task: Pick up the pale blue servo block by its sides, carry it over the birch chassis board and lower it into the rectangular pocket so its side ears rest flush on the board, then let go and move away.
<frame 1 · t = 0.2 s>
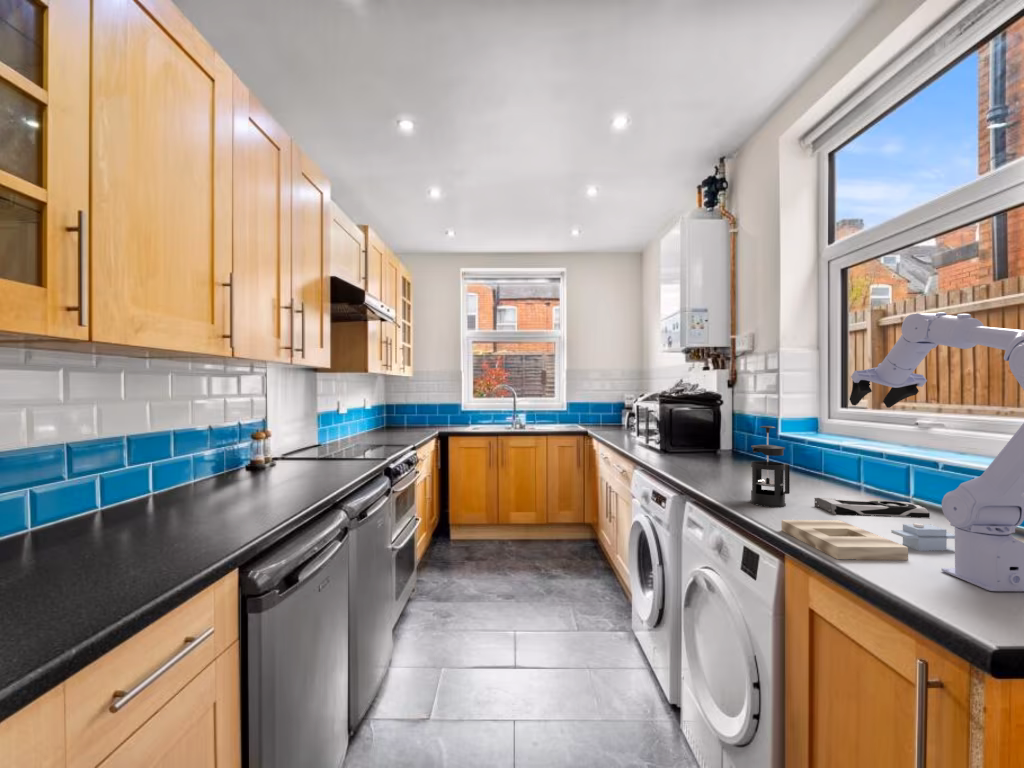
hand: (869, 403, 114), 31 cm above the counter, tool tilted 45°, fingers open, 7 cm apart
servo block: (924, 547, 104), on the counter
french press: (769, 504, 144), on the counter
chassis board: (838, 543, 106), on the counter
graphics card: (871, 515, 135), on the counter
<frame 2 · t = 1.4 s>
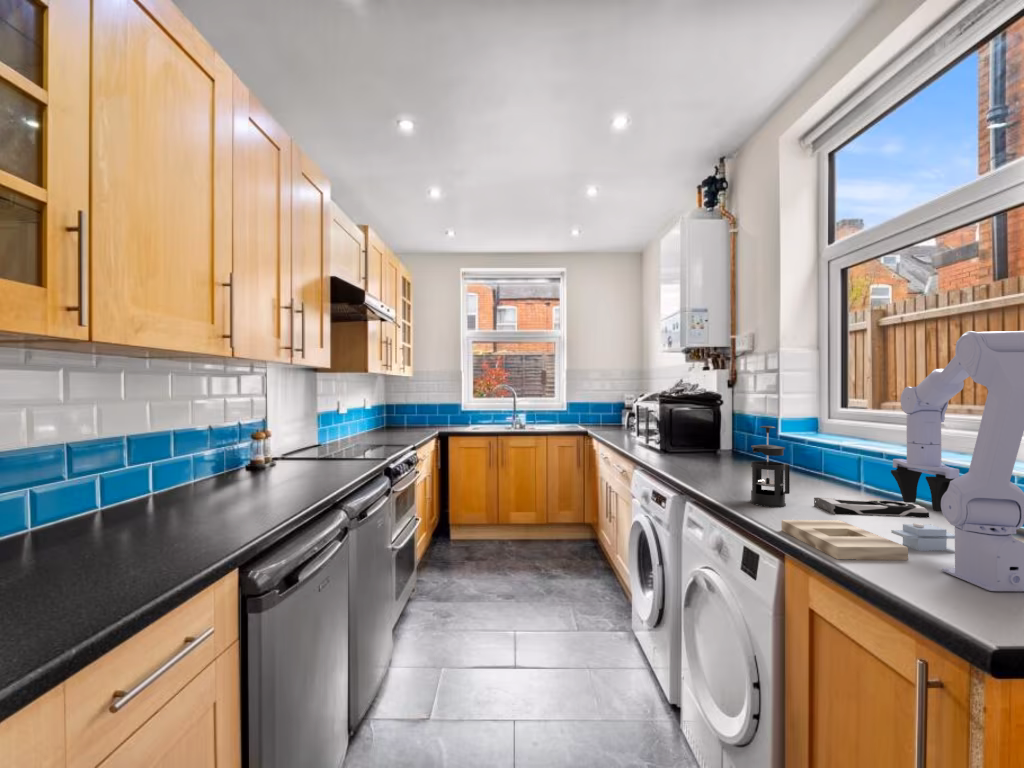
hand: (923, 506, 104), 9 cm above the counter, tool pointing down, fingers open, 7 cm apart
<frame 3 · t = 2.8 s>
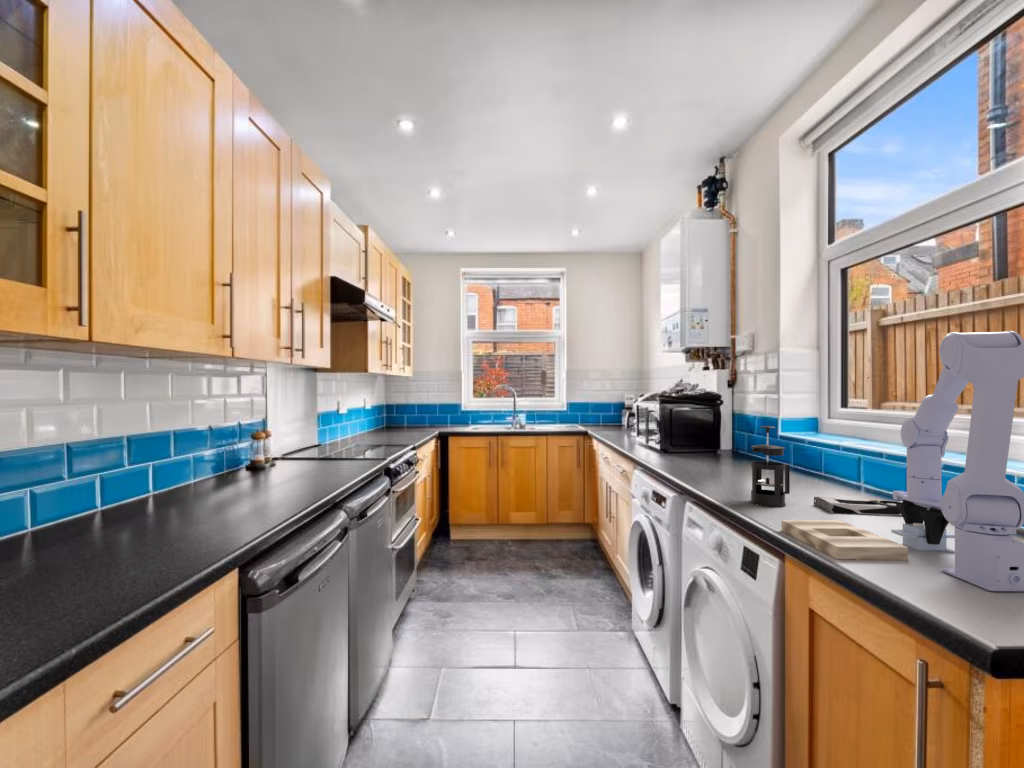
hand: (924, 540, 104), 1 cm above the counter, tool pointing down, fingers closed on servo block, 4 cm apart
servo block: (924, 547, 104), on the counter, touching gripper
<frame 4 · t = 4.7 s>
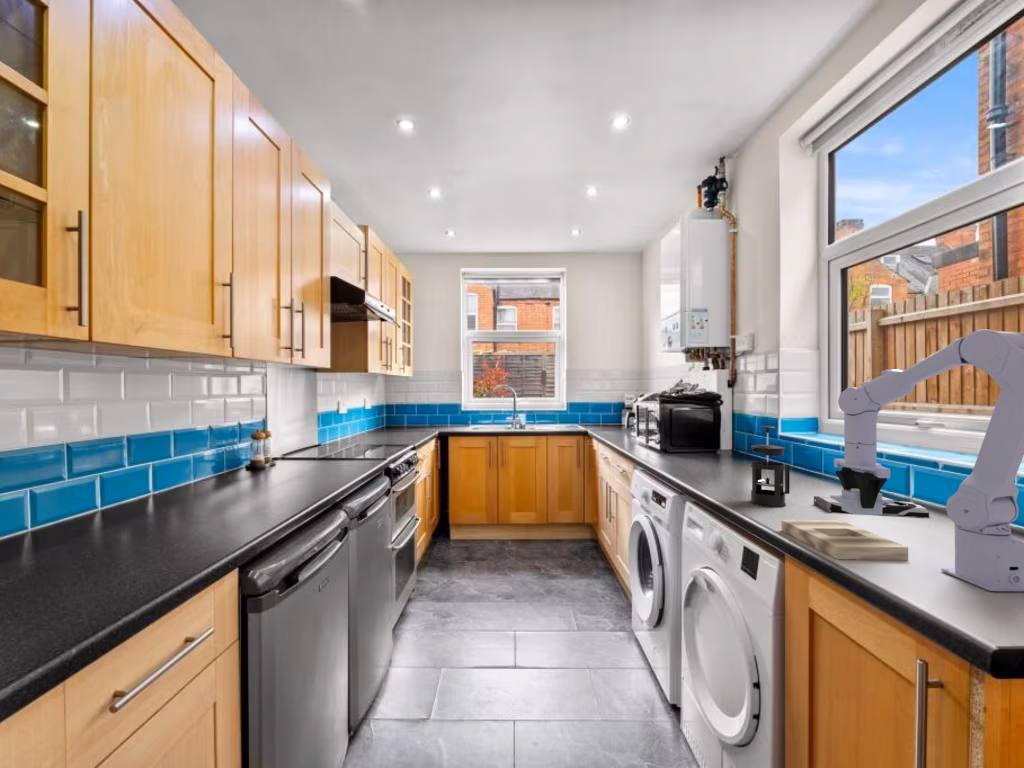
hand: (860, 505, 106), 8 cm above the counter, tool pointing down, fingers closed on servo block, 4 cm apart
servo block: (861, 512, 106), point 7 cm above the counter, touching gripper
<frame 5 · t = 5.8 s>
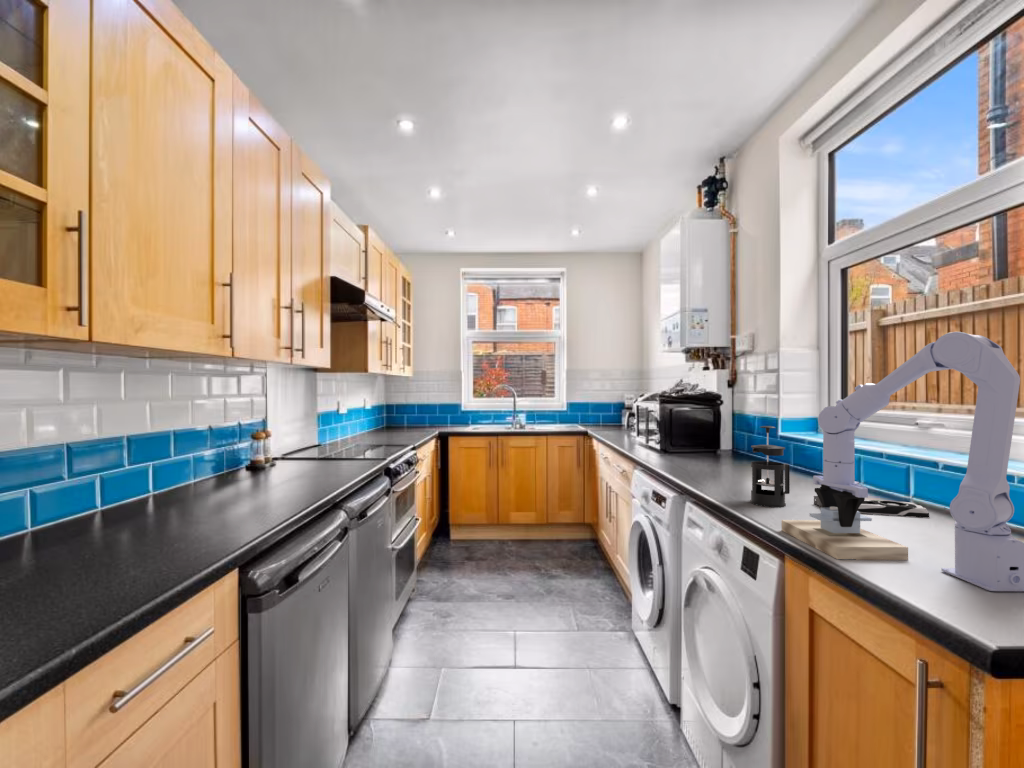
hand: (838, 523, 106), 4 cm above the counter, tool pointing down, fingers closed on servo block, 4 cm apart
servo block: (840, 530, 106), point 3 cm above the counter, touching gripper
when the fingers open (3 cm above the counter, at t = 6.9 s): servo block drops 2 cm, resting on chassis board.
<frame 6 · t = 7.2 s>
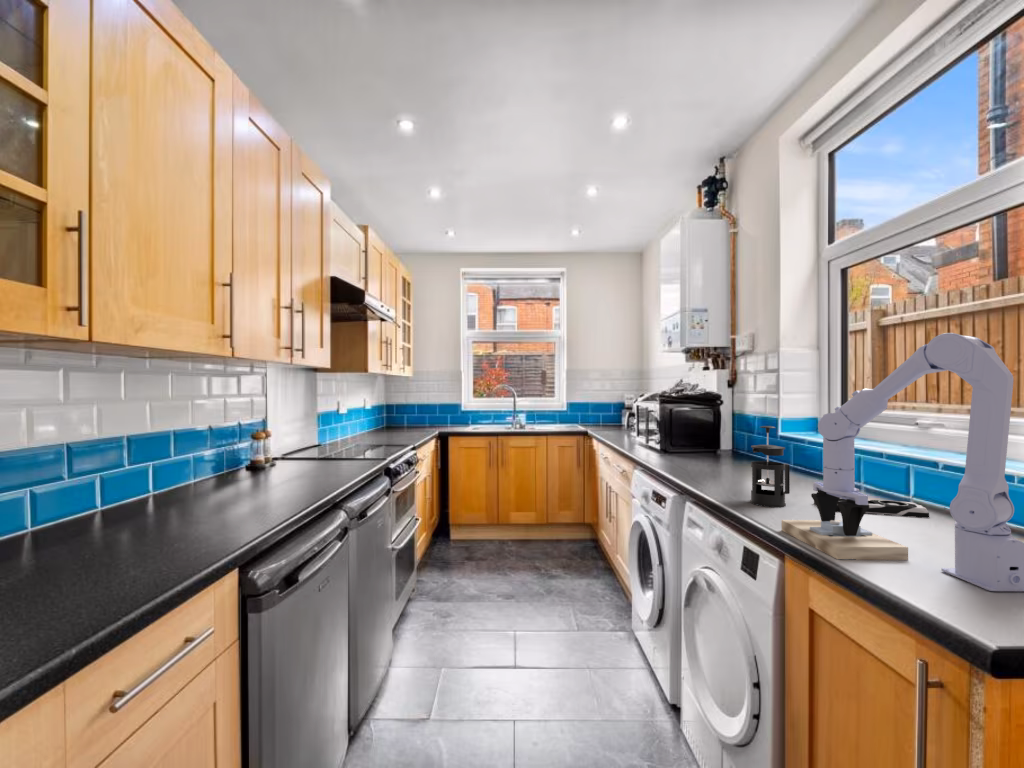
hand: (838, 530, 106), 3 cm above the counter, tool pointing down, fingers open, 6 cm apart
servo block: (840, 544, 106), resting on chassis board
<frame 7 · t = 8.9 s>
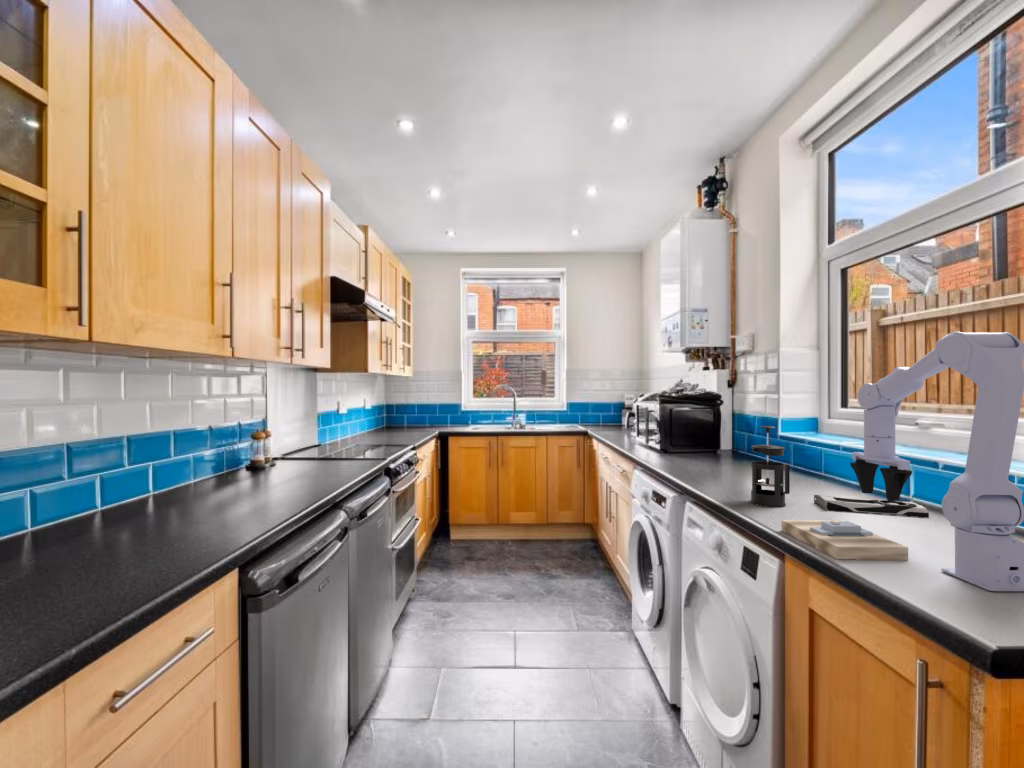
hand: (879, 496, 111), 9 cm above the counter, tool pointing down, fingers open, 7 cm apart
servo block: (840, 544, 106), resting in chassis board
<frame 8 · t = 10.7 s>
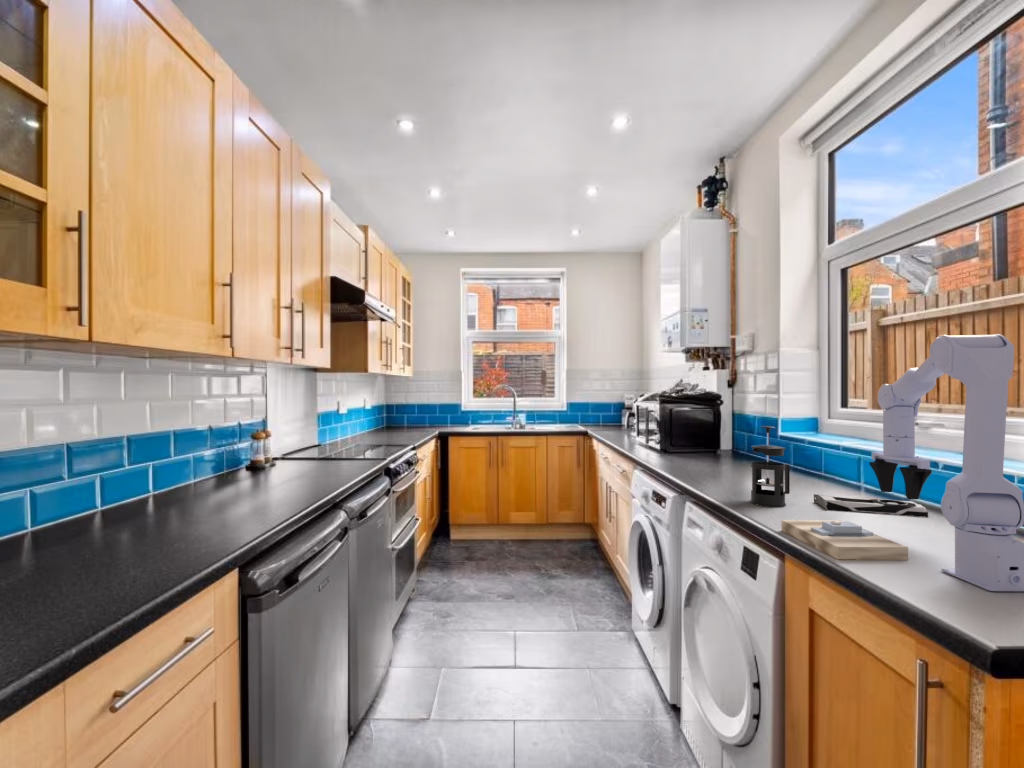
hand: (898, 495, 112), 9 cm above the counter, tool pointing down, fingers open, 7 cm apart
servo block: (841, 544, 106), resting in chassis board
at the end: servo block 0.4 cm off-centre on the chassis board, point 0.0 cm above the chassis board's base; servo block tilted 0°; the gripper is holding nothing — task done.
